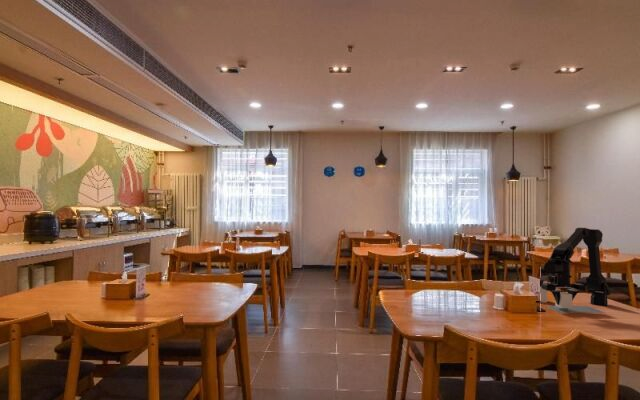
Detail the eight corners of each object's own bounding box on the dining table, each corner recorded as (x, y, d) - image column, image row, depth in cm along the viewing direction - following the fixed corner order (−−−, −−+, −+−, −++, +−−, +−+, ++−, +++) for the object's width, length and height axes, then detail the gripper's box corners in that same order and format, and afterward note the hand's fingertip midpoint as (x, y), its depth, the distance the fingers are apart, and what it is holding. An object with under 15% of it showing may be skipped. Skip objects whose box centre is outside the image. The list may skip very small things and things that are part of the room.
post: (564, 309, 198) (564, 299, 198) (568, 310, 195) (567, 300, 195) (559, 309, 198) (559, 299, 198) (562, 310, 195) (562, 300, 195)
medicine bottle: (541, 300, 221) (540, 278, 221) (547, 303, 214) (546, 280, 214) (527, 300, 221) (527, 278, 222) (532, 303, 214) (532, 280, 215)
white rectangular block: (565, 305, 199) (565, 292, 199) (572, 308, 194) (572, 294, 194) (555, 305, 199) (555, 292, 199) (561, 308, 194) (561, 294, 194)
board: (586, 307, 205) (586, 306, 205) (606, 314, 191) (606, 312, 191) (543, 306, 206) (543, 305, 206) (559, 313, 192) (559, 312, 192)
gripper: (572, 270, 205) (572, 301, 205) (535, 270, 205) (535, 301, 205) (586, 273, 194) (587, 306, 193) (547, 273, 194) (547, 306, 194)
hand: (563, 304), depth 197 cm, fingers closed on white rectangular block, 5 cm apart
